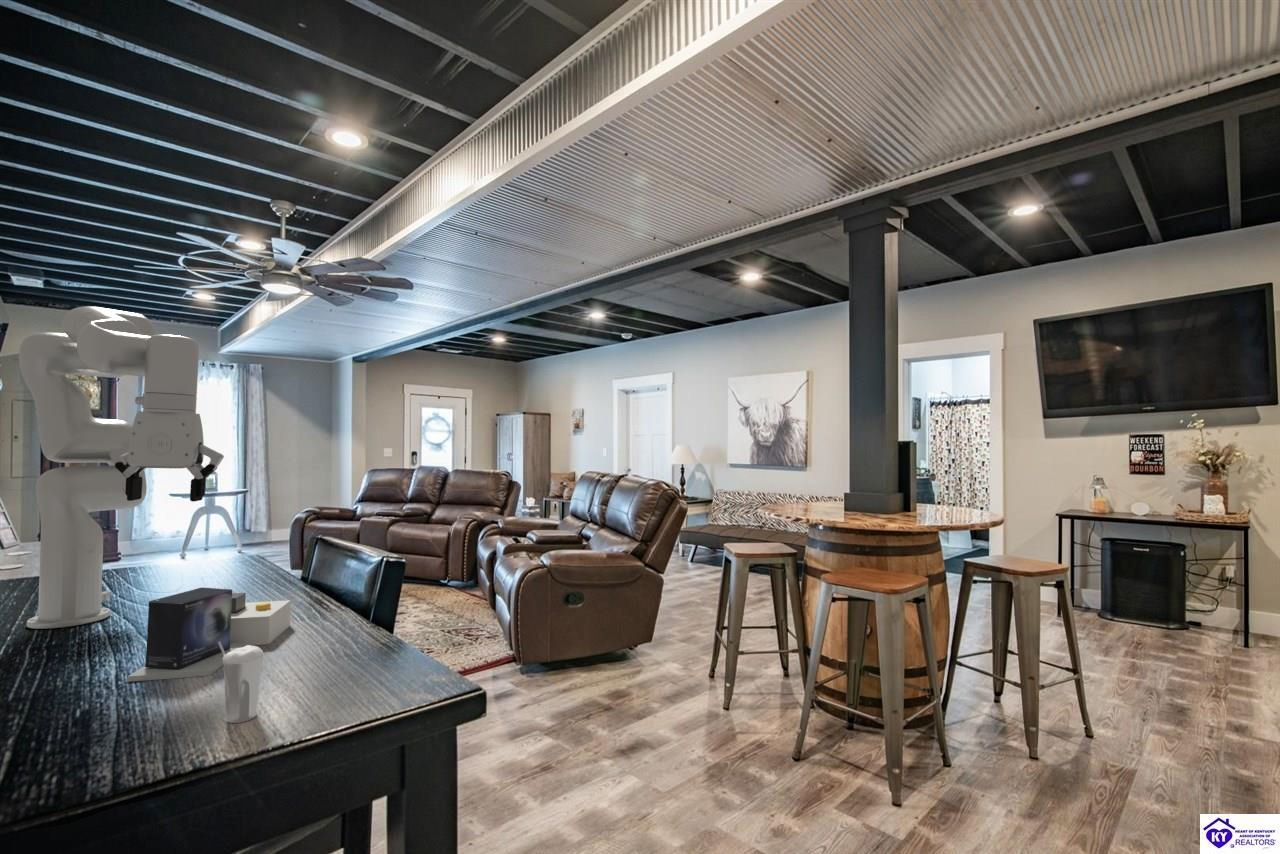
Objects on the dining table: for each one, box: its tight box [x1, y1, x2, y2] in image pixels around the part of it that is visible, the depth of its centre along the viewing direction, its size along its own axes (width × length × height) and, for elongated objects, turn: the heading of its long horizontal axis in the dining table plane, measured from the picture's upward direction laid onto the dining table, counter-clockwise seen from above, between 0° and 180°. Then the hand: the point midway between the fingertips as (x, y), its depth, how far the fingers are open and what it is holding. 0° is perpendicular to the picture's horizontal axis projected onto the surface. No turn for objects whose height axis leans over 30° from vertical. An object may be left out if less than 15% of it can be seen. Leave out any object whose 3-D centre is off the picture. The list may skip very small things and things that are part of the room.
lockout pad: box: [126, 643, 245, 683], centre depth 101 cm, size 14×11×1 cm
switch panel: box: [230, 599, 292, 646], centre depth 115 cm, size 12×14×6 cm
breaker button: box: [231, 592, 247, 614], centre depth 115 cm, size 4×4×6 cm
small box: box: [144, 586, 233, 669], centre depth 101 cm, size 11×6×10 cm, turn 174°
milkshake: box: [218, 642, 264, 724], centre depth 81 cm, size 4×5×10 cm
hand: (165, 500), depth 110 cm, fingers open, 9 cm apart
